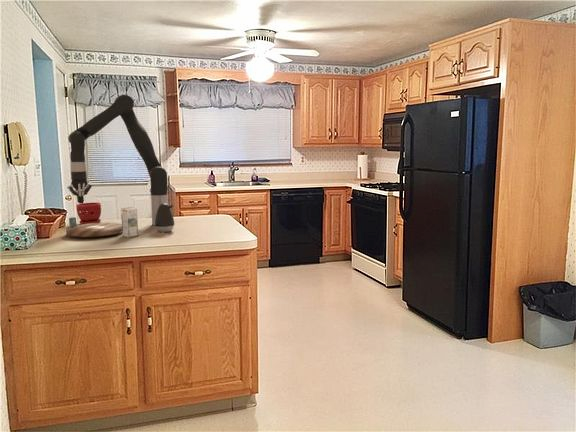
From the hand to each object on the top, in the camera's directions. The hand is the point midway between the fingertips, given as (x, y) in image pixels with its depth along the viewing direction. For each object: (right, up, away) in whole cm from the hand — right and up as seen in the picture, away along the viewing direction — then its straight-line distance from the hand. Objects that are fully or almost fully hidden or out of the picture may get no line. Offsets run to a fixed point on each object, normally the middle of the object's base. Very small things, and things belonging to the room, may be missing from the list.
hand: (80, 203), depth 250 cm
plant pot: (-5, -12, +24) cm, 27 cm away
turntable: (+10, -15, -5) cm, 19 cm away
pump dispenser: (+45, -15, +1) cm, 47 cm away
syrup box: (+30, -17, -10) cm, 36 cm away
